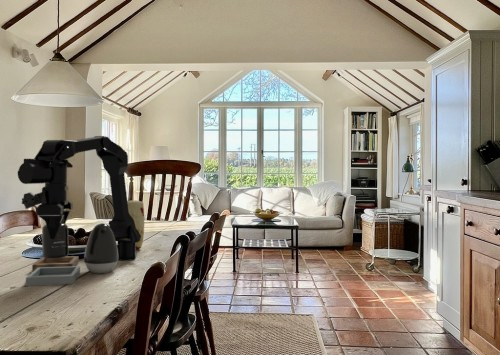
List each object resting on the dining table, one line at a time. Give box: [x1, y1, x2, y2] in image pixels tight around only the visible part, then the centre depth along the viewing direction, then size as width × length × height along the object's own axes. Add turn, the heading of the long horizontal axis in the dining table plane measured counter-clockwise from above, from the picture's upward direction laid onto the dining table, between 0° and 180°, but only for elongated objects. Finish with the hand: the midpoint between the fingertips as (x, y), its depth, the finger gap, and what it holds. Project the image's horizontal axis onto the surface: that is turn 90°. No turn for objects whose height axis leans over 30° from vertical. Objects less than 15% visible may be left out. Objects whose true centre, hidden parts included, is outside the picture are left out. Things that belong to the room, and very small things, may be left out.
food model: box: [127, 199, 145, 251], centre depth 166 cm, size 10×7×20 cm
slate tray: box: [25, 265, 81, 287], centre depth 119 cm, size 12×12×2 cm
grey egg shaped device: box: [83, 222, 120, 275], centre depth 129 cm, size 10×10×15 cm
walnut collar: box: [31, 255, 80, 273], centre depth 133 cm, size 11×11×2 cm
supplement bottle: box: [41, 216, 69, 258], centre depth 119 cm, size 7×7×12 cm
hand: (55, 236), depth 119 cm, fingers closed on supplement bottle, 7 cm apart
